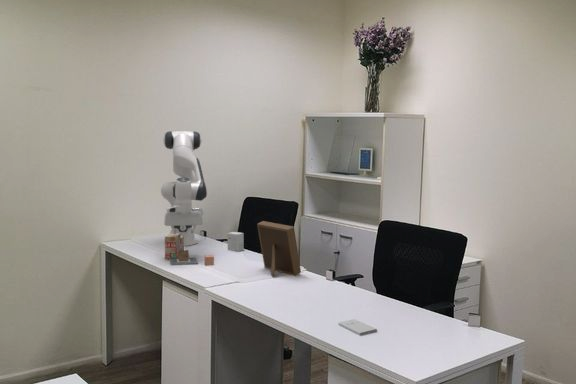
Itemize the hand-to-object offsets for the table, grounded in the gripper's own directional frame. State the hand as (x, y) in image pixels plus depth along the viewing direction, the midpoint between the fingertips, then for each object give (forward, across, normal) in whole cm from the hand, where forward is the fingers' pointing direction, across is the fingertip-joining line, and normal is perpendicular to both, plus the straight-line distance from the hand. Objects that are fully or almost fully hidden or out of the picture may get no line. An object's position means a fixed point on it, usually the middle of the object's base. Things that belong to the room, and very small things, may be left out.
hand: (183, 233), depth 299 cm
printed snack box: (+15, +4, -16) cm, 22 cm away
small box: (+16, -32, -24) cm, 43 cm away
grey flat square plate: (+15, 0, 0) cm, 15 cm away
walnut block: (+15, 0, 0) cm, 15 cm away
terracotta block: (+15, -13, +8) cm, 22 cm away
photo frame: (+15, -44, +31) cm, 56 cm away
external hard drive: (+15, -57, +114) cm, 128 cm away
